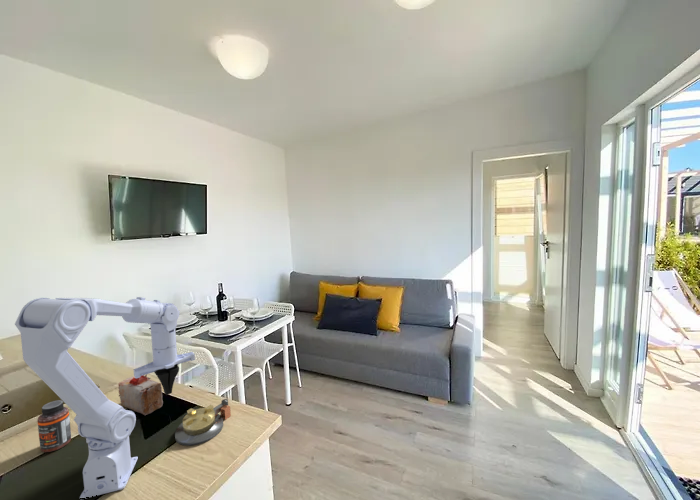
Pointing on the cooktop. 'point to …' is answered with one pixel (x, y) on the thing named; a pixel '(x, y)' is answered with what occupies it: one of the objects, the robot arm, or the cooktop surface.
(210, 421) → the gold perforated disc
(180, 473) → the cooktop surface
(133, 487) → the cooktop surface
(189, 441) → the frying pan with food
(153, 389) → the food item
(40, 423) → the supplement bottle
